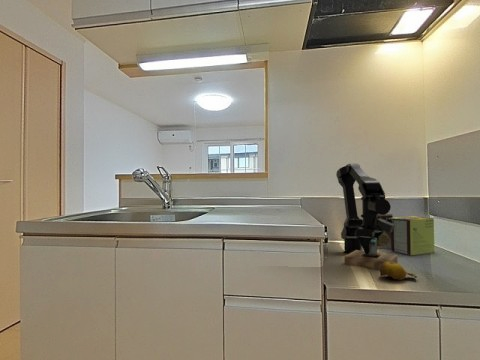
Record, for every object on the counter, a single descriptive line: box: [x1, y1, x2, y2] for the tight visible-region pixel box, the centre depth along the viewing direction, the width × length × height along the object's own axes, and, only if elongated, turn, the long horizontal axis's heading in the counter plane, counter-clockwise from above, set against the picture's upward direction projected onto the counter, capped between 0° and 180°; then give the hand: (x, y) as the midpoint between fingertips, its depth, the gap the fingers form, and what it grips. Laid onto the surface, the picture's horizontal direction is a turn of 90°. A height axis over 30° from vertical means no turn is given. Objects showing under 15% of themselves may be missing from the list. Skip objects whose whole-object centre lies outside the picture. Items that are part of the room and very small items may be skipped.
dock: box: [343, 250, 398, 270], centre depth 121 cm, size 16×14×3 cm
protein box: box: [390, 215, 435, 256], centre depth 141 cm, size 10×15×16 cm
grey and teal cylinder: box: [365, 238, 378, 258], centre depth 121 cm, size 4×4×10 cm
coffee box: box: [377, 213, 394, 250], centre depth 150 cm, size 9×6×16 cm
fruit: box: [379, 262, 418, 281], centre depth 102 cm, size 11×11×5 cm
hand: (370, 251), depth 121 cm, fingers open, 9 cm apart
